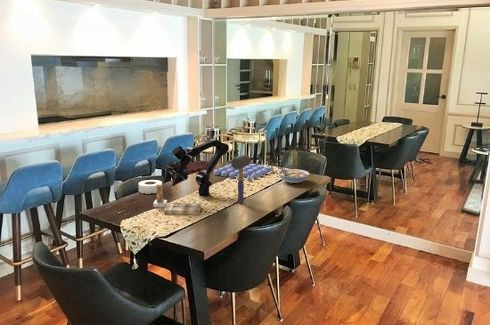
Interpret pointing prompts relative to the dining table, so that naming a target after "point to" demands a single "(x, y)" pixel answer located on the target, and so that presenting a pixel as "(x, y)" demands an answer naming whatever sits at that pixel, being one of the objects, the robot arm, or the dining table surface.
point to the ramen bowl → (293, 175)
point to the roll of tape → (148, 186)
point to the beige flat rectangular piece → (182, 208)
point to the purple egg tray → (250, 171)
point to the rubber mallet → (240, 173)
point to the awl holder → (160, 204)
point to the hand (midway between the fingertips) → (168, 184)
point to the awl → (159, 193)
